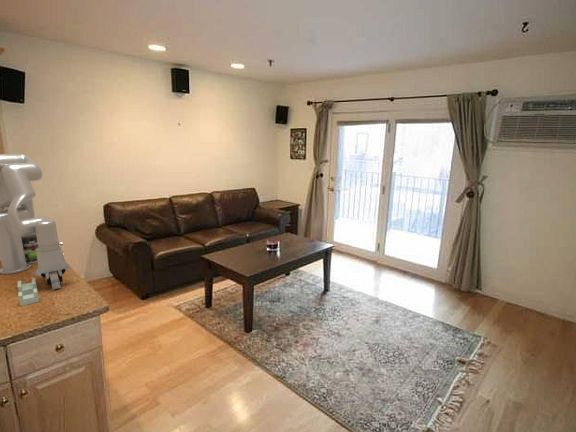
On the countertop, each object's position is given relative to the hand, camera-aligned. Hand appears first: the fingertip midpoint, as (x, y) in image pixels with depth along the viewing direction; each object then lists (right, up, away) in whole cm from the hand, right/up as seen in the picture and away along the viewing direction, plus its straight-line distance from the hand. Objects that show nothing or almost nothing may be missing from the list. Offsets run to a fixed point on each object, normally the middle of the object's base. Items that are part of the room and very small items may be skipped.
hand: (55, 284), depth 151 cm
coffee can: (-34, +7, +30) cm, 46 cm away
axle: (-2, +2, +2) cm, 4 cm away
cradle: (-6, -3, -8) cm, 11 cm away
